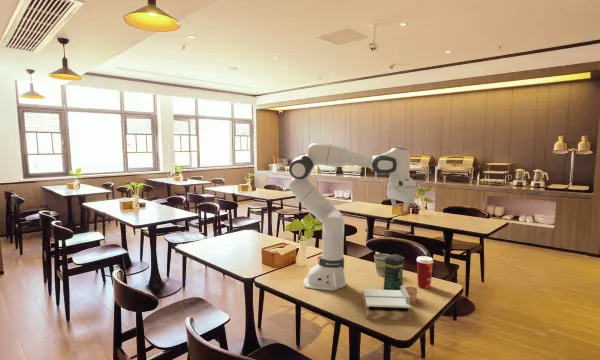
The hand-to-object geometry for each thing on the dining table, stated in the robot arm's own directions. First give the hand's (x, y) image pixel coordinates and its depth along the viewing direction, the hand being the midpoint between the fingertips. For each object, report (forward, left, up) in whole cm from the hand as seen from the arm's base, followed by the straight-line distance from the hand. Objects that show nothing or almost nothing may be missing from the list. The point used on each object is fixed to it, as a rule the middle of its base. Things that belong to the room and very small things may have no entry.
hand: (399, 209), depth 165 cm
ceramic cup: (-2, +23, -42) cm, 48 cm away
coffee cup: (+15, +7, -42) cm, 45 cm away
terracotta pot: (+4, -11, -41) cm, 43 cm away
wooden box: (-9, -21, -41) cm, 47 cm away
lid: (-9, -21, -36) cm, 43 cm away
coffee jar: (-2, -1, -42) cm, 42 cm away
